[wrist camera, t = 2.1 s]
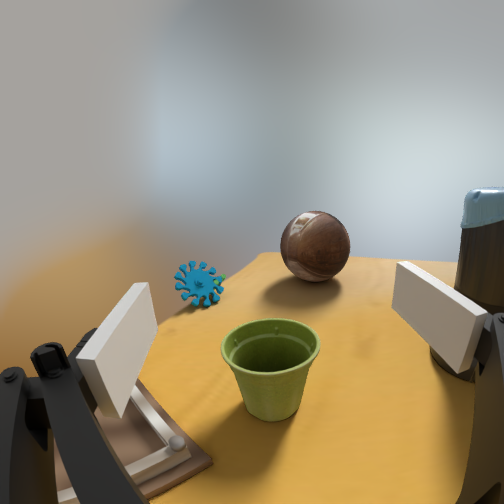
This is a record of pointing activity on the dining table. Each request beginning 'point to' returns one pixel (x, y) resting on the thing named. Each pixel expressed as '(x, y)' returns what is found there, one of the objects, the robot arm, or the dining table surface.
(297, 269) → the wooden sphere
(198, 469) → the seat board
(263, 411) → the plant pot
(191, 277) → the blue plastic toy
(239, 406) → the dining table surface
